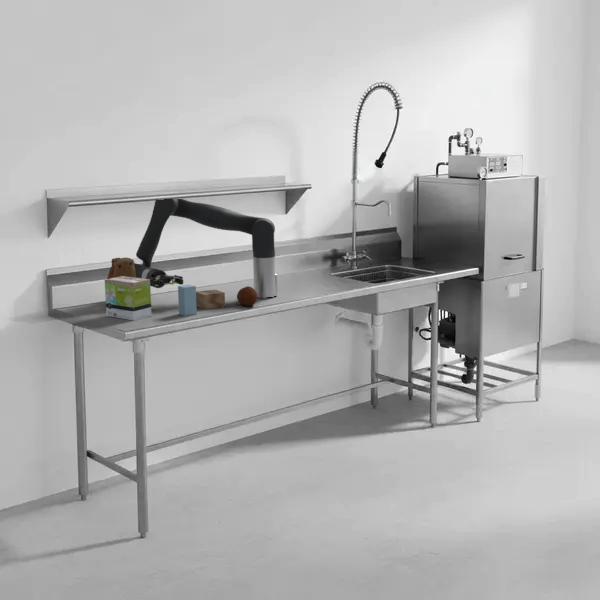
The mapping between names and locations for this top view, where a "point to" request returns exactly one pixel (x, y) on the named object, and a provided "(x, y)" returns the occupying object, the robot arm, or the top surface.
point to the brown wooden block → (210, 299)
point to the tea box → (128, 298)
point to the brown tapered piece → (122, 268)
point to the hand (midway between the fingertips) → (172, 282)
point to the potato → (247, 296)
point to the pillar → (187, 300)
